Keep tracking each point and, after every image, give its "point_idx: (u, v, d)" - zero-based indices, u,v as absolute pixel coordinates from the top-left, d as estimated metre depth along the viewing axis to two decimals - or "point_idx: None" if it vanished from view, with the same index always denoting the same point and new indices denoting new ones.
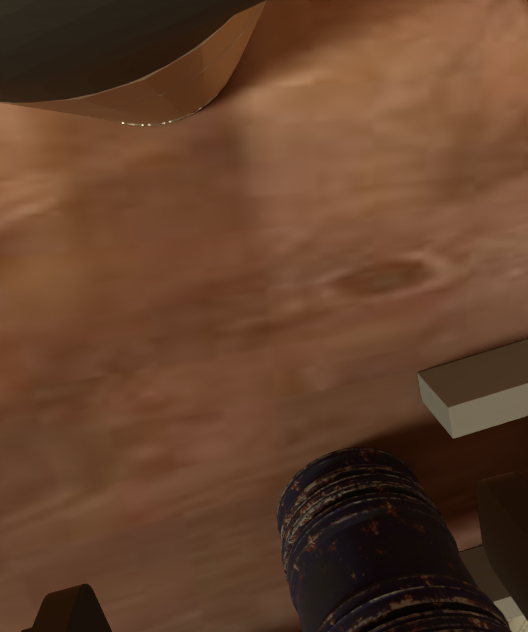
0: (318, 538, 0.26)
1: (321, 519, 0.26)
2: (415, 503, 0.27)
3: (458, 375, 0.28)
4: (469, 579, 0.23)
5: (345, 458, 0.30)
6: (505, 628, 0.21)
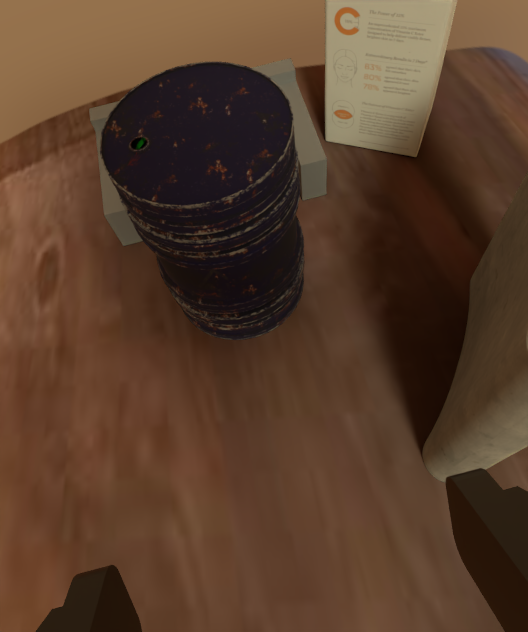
0: (172, 285, 0.32)
1: (169, 287, 0.32)
2: None
3: None
4: None
5: None
6: None
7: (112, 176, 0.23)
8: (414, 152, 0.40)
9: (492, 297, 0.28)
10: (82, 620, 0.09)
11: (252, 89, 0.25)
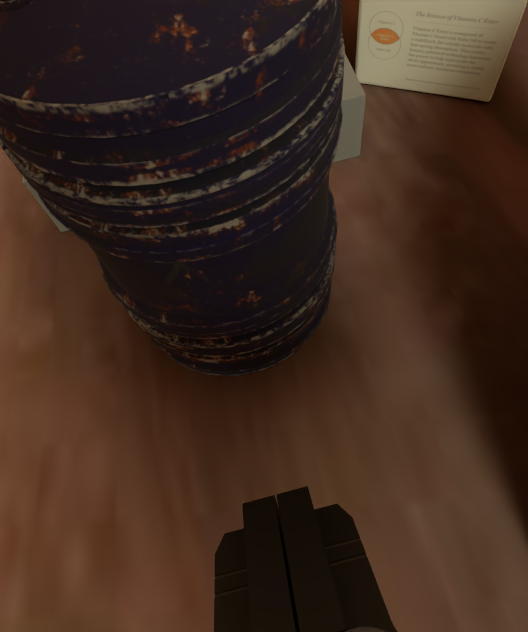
0: (118, 292, 0.19)
1: (115, 295, 0.20)
2: None
3: None
4: None
5: None
6: None
7: None
8: (487, 94, 0.28)
9: None
10: (269, 536, 0.09)
11: None
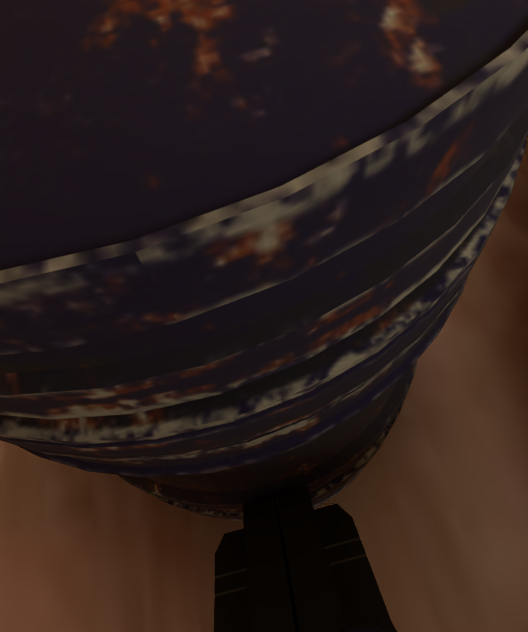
0: None
1: None
2: None
3: None
4: None
5: None
6: None
7: None
8: None
9: None
10: (269, 536, 0.09)
11: None
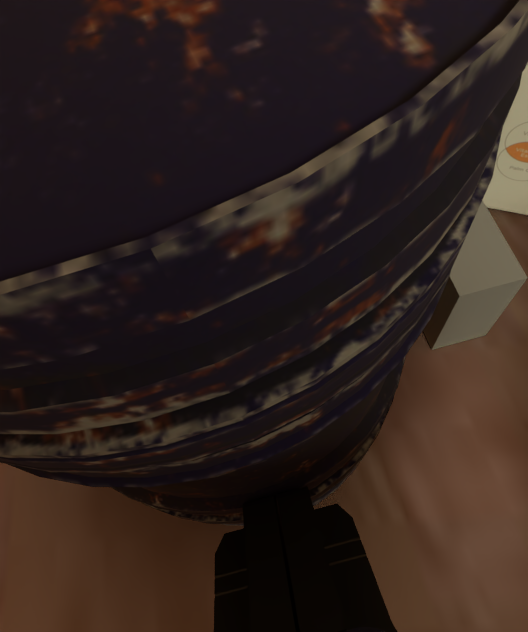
0: None
1: None
2: None
3: None
4: None
5: None
6: None
7: None
8: None
9: None
10: (269, 536, 0.09)
11: None
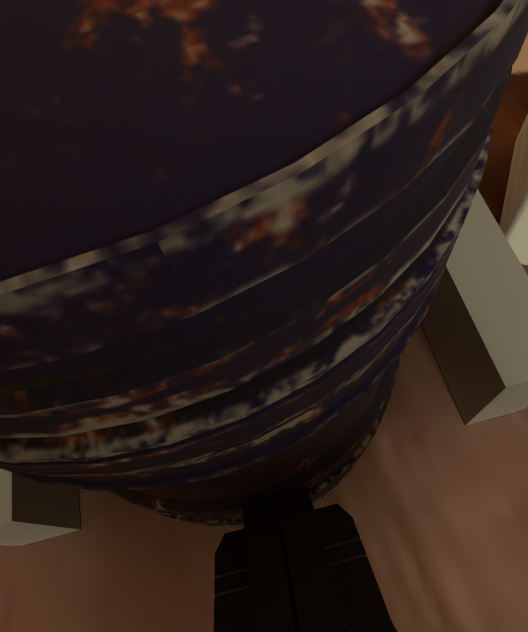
0: None
1: None
2: None
3: None
4: None
5: None
6: None
7: None
8: None
9: None
10: (269, 536, 0.09)
11: None
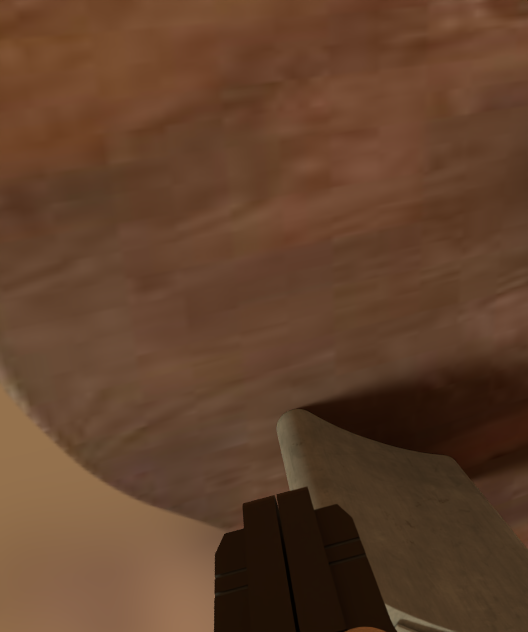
0: None
1: None
2: None
3: None
4: None
5: None
6: None
7: None
8: None
9: (422, 496, 0.33)
10: (269, 536, 0.09)
11: None
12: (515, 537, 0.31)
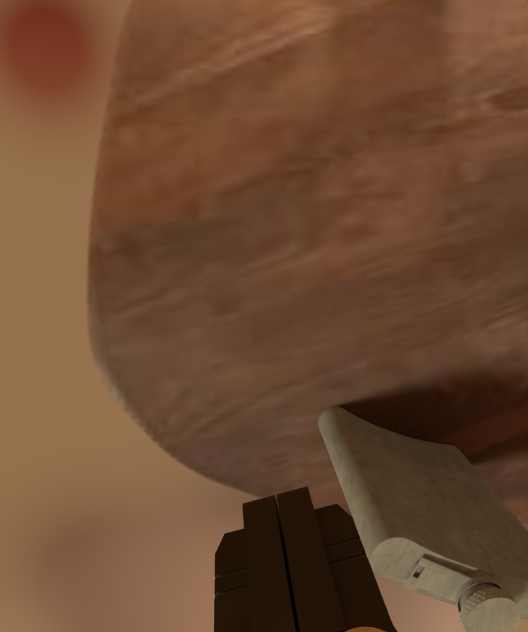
0: None
1: None
2: None
3: None
4: None
5: None
6: None
7: None
8: None
9: (435, 475, 0.43)
10: (269, 536, 0.09)
11: None
12: (505, 506, 0.41)
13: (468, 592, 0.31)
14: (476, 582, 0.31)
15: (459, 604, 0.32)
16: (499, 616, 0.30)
